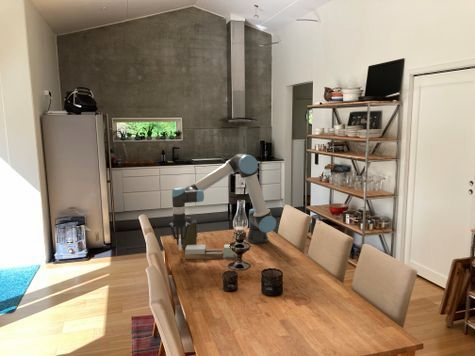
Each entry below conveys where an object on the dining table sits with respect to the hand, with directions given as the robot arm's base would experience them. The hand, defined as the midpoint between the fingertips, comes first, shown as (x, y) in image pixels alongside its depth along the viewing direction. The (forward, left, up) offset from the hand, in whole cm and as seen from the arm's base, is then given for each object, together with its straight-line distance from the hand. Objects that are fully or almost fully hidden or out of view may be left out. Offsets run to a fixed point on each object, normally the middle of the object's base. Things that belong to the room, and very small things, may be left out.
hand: (180, 249), depth 240 cm
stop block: (0, +31, -4) cm, 31 cm away
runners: (0, +15, -5) cm, 15 cm away
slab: (0, +10, -2) cm, 10 cm away
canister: (-20, +4, -5) cm, 21 cm away
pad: (0, +31, -5) cm, 31 cm away
